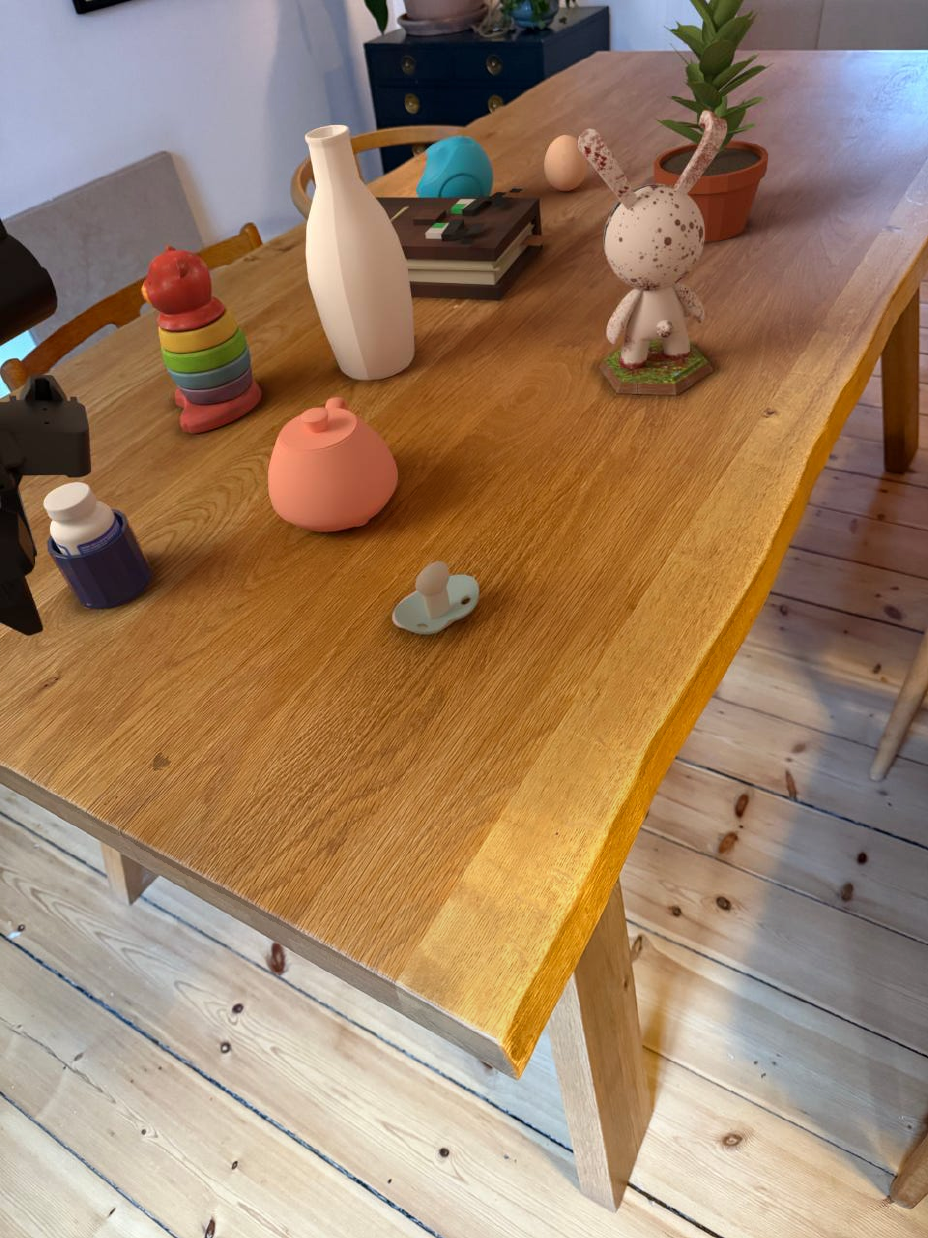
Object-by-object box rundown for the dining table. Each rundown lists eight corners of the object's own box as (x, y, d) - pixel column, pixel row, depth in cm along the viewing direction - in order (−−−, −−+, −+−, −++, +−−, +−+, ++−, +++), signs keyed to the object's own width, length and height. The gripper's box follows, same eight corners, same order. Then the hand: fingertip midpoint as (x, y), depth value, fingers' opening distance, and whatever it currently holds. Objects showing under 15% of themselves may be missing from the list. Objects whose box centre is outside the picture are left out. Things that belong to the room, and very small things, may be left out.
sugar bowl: (262, 547, 83) (227, 454, 76) (302, 462, 93) (274, 372, 86) (389, 544, 81) (365, 448, 74) (416, 457, 91) (397, 365, 84)
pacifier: (378, 619, 74) (418, 655, 70) (361, 560, 70) (402, 595, 66) (449, 578, 76) (491, 610, 73) (436, 519, 72) (480, 549, 68)
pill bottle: (151, 561, 83) (109, 474, 77) (130, 600, 79) (83, 512, 73) (98, 563, 84) (52, 477, 78) (74, 602, 80) (23, 515, 74)
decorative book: (364, 187, 131) (558, 187, 120) (375, 239, 137) (561, 244, 125) (298, 240, 119) (507, 245, 108) (313, 295, 124) (513, 305, 113)
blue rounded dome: (438, 205, 144) (426, 126, 136) (506, 203, 140) (498, 121, 132) (412, 234, 136) (398, 152, 128) (484, 233, 132) (473, 149, 124)
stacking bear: (174, 396, 108) (115, 249, 96) (256, 373, 109) (208, 225, 97) (183, 438, 100) (120, 283, 88) (271, 413, 102) (221, 257, 90)
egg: (592, 181, 142) (590, 127, 137) (583, 196, 138) (580, 141, 132) (551, 183, 144) (547, 129, 139) (541, 198, 140) (537, 143, 134)
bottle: (313, 371, 108) (250, 143, 90) (382, 333, 113) (334, 109, 95) (373, 396, 101) (317, 155, 84) (442, 354, 106) (403, 119, 89)
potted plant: (628, 238, 124) (625, -24, 103) (696, 201, 130) (706, -53, 110) (718, 259, 115) (733, -23, 94) (786, 218, 121) (815, -55, 101)
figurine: (692, 331, 102) (702, 84, 85) (739, 380, 93) (760, 115, 76) (572, 359, 101) (558, 115, 84) (608, 411, 92) (600, 150, 75)
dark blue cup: (79, 619, 79) (49, 568, 75) (74, 575, 84) (45, 524, 80) (157, 592, 80) (131, 540, 76) (147, 550, 85) (122, 499, 81)
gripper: (57, 421, 47) (164, 631, 58) (41, 301, 61) (130, 490, 71) (-164, 490, 45) (-11, 695, 56) (-131, 350, 58) (-12, 537, 69)
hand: (33, 592), depth 63 cm, fingers open, 9 cm apart
